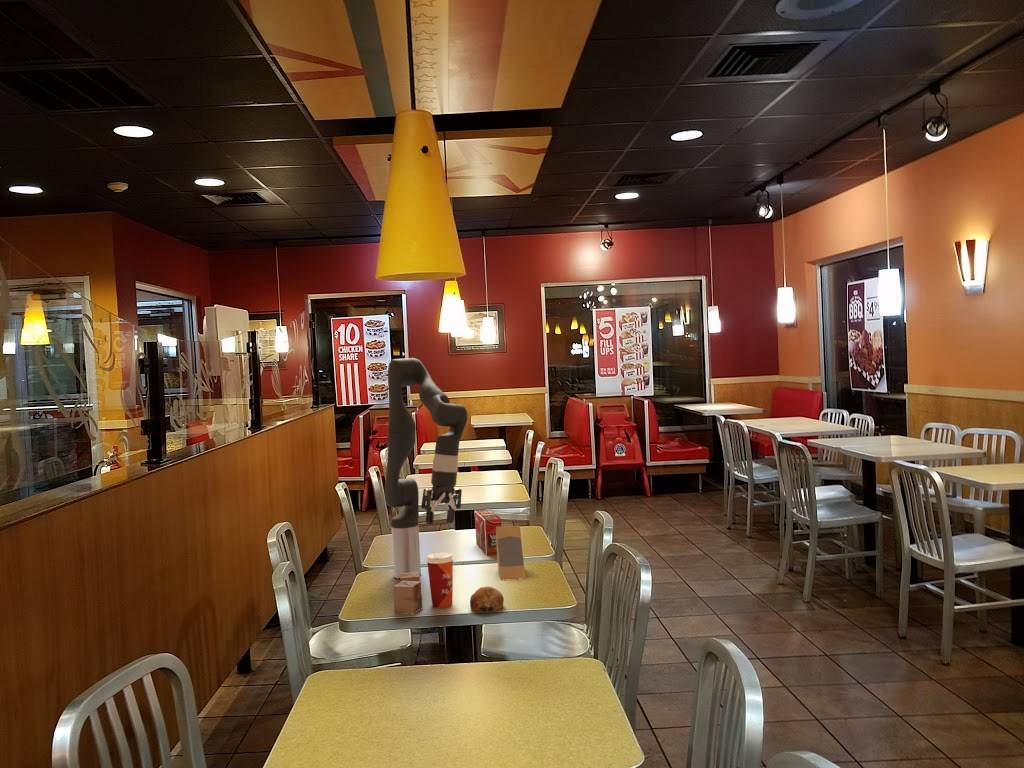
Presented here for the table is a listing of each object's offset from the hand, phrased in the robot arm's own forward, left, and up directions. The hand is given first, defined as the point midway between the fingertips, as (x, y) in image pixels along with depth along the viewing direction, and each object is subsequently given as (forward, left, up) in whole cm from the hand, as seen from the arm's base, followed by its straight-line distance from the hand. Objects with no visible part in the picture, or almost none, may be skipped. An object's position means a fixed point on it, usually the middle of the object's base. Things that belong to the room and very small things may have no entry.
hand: (439, 523), depth 247 cm
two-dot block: (-2, -11, -24) cm, 27 cm away
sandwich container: (-32, +16, -24) cm, 43 cm away
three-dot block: (+8, -9, -24) cm, 27 cm away
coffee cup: (+3, 0, -24) cm, 24 cm away
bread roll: (+6, +14, -24) cm, 29 cm away
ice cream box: (-69, +2, -24) cm, 74 cm away
